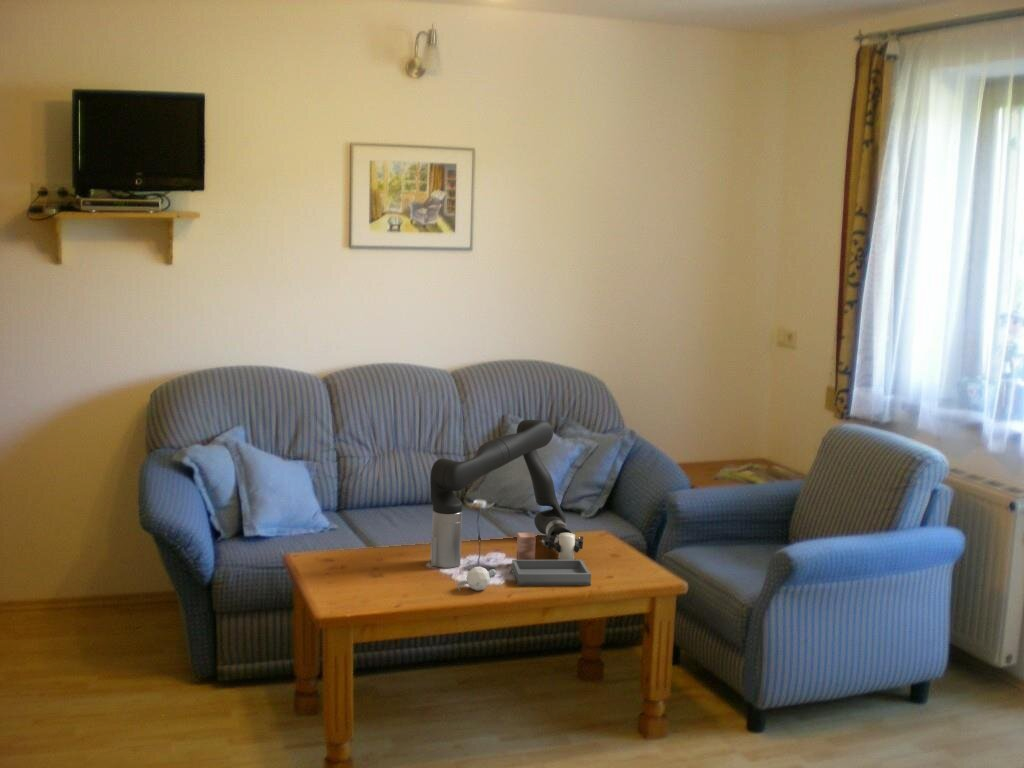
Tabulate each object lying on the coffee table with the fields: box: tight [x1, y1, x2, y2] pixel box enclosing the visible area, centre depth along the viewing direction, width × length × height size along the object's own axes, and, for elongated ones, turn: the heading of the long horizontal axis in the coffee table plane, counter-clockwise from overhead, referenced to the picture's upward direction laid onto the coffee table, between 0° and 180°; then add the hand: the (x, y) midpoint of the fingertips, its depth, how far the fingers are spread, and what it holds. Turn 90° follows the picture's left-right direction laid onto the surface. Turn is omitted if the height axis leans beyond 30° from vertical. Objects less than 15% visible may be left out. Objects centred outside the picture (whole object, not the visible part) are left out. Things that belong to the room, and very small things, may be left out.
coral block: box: [515, 532, 537, 560], centre depth 347 cm, size 5×5×10 cm
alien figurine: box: [456, 565, 497, 592], centre depth 323 cm, size 7×7×12 cm
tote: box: [511, 559, 592, 587], centre depth 336 cm, size 22×14×4 cm, turn 98°
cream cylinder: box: [557, 532, 576, 560], centre depth 349 cm, size 5×5×10 cm
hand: (568, 549), depth 346 cm, fingers closed on cream cylinder, 5 cm apart
